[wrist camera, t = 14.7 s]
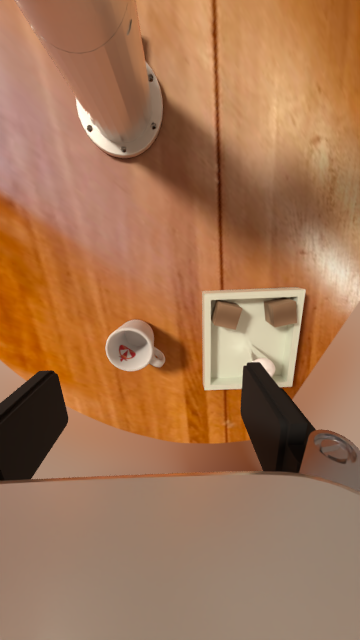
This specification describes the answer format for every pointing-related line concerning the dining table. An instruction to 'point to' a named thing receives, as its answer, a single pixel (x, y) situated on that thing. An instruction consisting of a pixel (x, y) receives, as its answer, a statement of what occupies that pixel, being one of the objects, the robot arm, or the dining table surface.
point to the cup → (133, 347)
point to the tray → (248, 337)
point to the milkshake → (255, 357)
